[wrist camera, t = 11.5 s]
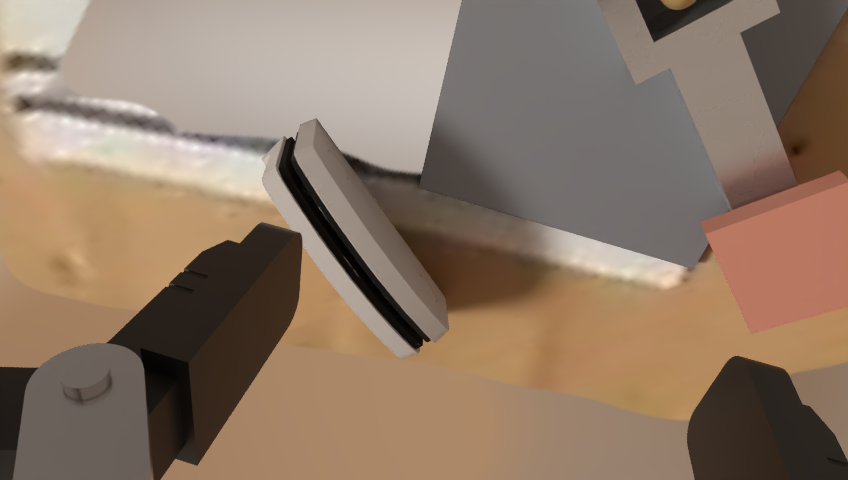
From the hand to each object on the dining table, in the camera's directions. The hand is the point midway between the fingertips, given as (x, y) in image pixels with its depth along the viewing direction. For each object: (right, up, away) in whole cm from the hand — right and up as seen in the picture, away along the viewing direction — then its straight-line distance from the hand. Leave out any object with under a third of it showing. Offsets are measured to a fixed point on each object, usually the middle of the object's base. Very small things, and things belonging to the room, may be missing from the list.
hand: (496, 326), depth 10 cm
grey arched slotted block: (-5, +3, +30) cm, 31 cm away
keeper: (+18, +5, +23) cm, 29 cm away
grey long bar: (+13, +11, +19) cm, 26 cm away
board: (+9, +11, +22) cm, 26 cm away
